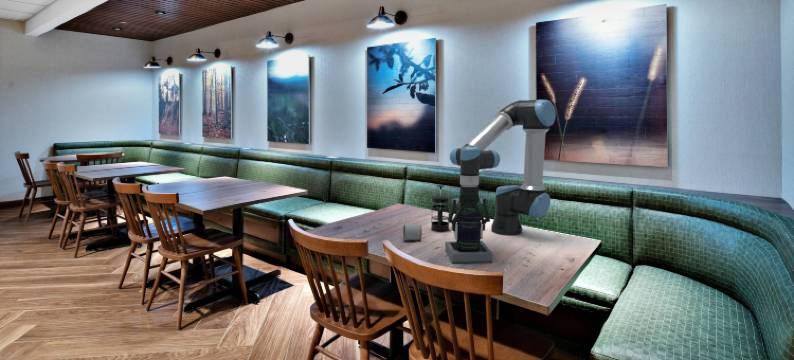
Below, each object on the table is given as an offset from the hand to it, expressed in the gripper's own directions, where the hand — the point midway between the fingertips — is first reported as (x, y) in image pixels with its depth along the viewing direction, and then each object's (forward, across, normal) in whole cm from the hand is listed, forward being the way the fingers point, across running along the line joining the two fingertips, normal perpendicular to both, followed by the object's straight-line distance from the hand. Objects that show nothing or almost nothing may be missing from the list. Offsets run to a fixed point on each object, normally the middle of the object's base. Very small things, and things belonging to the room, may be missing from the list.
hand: (468, 238), depth 171 cm
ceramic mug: (+8, -21, +26) cm, 35 cm away
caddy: (+8, 0, 0) cm, 8 cm away
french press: (+8, -5, +41) cm, 42 cm away
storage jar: (+5, 0, 0) cm, 5 cm away
